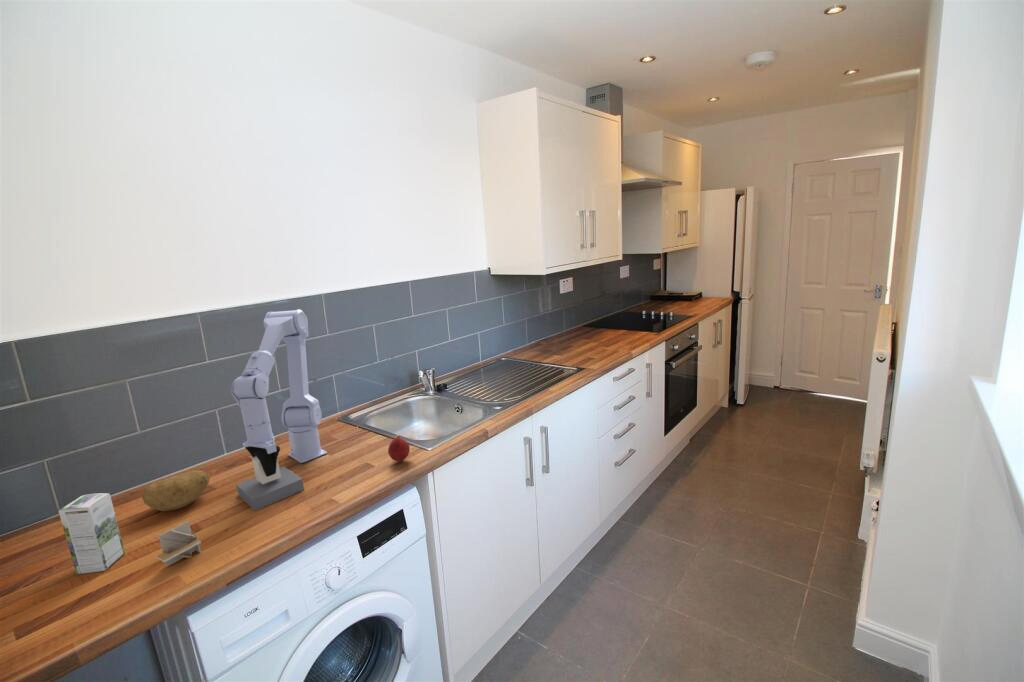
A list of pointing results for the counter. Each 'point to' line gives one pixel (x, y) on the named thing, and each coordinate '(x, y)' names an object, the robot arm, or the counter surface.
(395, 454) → the onion
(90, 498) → the syrup box
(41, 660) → the counter surface
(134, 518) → the counter surface
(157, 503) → the potato
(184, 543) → the architectural model
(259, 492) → the riser block
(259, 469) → the cream block
